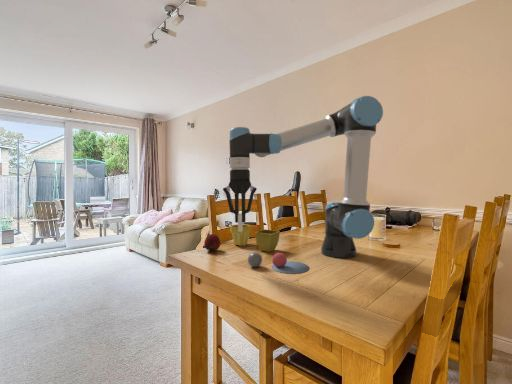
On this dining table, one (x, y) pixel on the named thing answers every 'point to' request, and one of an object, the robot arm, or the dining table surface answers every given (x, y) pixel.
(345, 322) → the dining table surface
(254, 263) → the blue-grey ball
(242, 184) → the robot arm
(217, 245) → the dark red bumpy ball
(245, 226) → the plant pot
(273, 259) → the object ball
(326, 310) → the dining table surface
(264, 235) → the flower pot
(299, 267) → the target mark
